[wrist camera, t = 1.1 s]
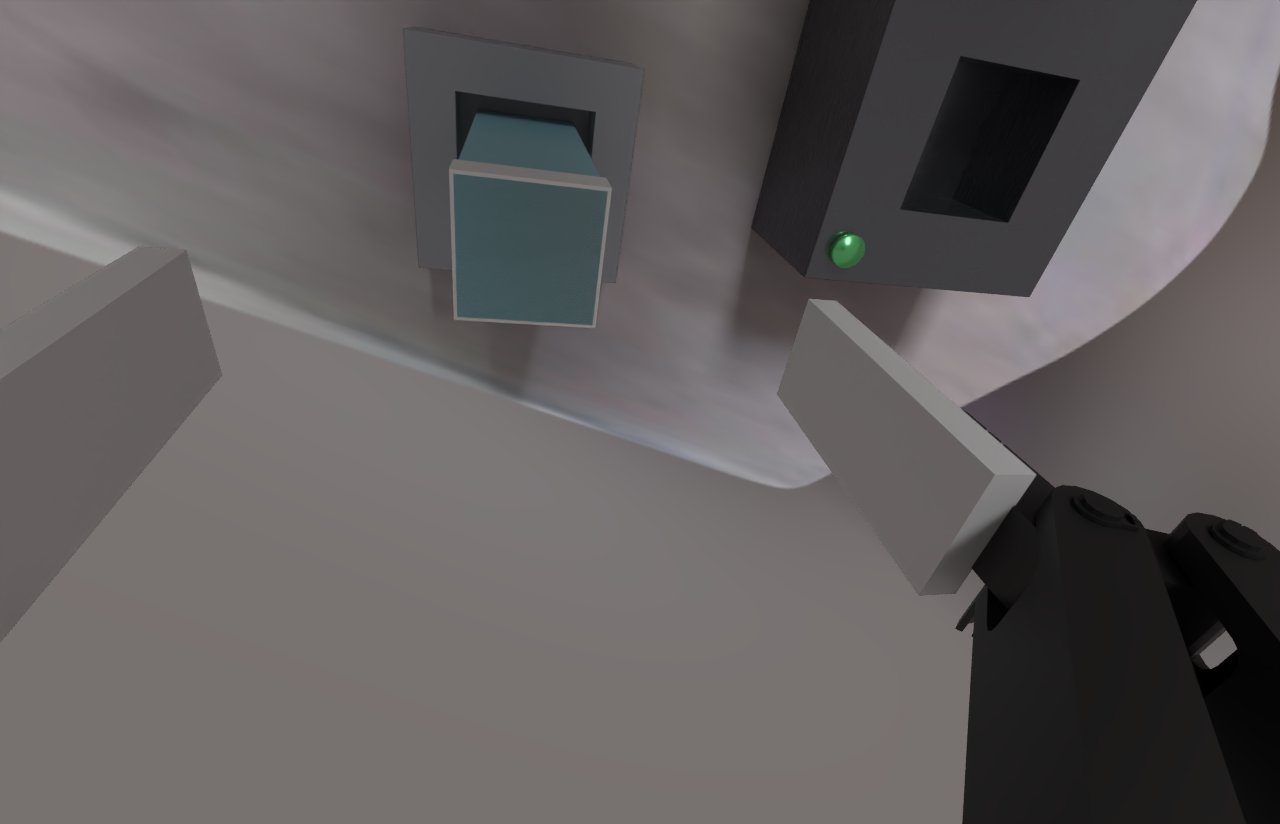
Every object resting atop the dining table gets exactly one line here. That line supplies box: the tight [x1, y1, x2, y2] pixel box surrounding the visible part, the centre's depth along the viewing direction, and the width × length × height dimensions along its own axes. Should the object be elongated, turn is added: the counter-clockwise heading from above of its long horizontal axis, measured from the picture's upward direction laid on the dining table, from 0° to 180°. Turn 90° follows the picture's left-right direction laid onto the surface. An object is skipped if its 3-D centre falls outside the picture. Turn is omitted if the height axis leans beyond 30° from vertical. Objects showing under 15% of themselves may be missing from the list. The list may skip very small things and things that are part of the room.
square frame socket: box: [403, 27, 644, 283], centre depth 25 cm, size 9×9×3 cm
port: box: [752, 0, 1197, 297], centre depth 25 cm, size 12×12×7 cm
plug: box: [449, 108, 612, 328], centre depth 21 cm, size 4×4×12 cm
